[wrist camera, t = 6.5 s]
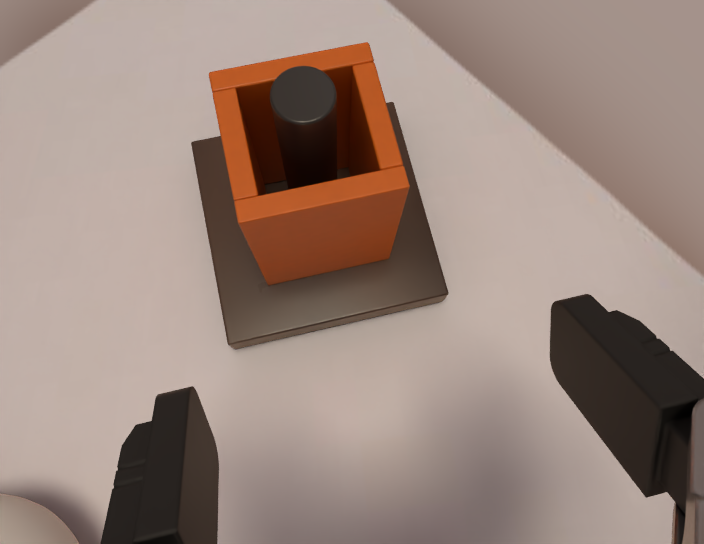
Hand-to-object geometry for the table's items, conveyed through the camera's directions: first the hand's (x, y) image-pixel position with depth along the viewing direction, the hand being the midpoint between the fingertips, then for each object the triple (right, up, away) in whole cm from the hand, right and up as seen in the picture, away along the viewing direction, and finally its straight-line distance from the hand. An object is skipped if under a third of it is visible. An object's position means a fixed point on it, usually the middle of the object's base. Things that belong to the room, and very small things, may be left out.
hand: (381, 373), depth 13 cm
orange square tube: (-2, +5, +14) cm, 15 cm away
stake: (-2, +4, +15) cm, 16 cm away
